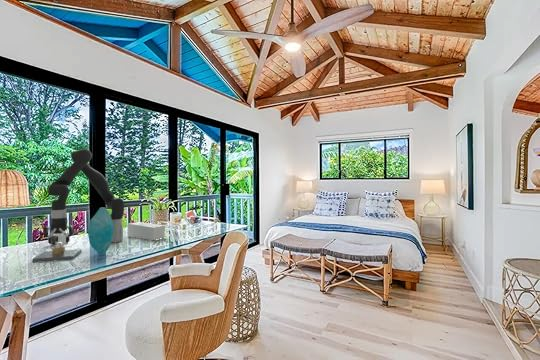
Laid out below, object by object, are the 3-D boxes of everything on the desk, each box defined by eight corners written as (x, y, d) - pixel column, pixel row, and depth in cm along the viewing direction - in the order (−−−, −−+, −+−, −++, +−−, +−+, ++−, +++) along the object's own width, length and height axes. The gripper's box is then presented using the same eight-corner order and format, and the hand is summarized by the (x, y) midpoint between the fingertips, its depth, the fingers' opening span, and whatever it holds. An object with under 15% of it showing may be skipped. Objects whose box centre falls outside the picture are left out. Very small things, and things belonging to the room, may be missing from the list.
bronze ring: (66, 252, 176) (66, 245, 176) (62, 254, 170) (62, 248, 170) (54, 252, 174) (54, 246, 174) (50, 255, 168) (50, 248, 168)
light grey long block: (127, 236, 232) (127, 223, 232) (138, 234, 241) (138, 221, 241) (153, 241, 217) (153, 227, 217) (164, 238, 226) (165, 225, 226)
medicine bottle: (50, 244, 200) (51, 228, 200) (61, 242, 207) (61, 226, 207) (57, 245, 198) (58, 229, 198) (68, 243, 205) (68, 227, 205)
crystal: (90, 252, 182) (90, 206, 182) (114, 251, 187) (114, 206, 186) (85, 258, 171) (85, 209, 170) (111, 256, 176) (111, 208, 175)
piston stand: (81, 252, 183) (81, 238, 183) (73, 259, 168) (73, 244, 168) (44, 254, 176) (44, 240, 176) (32, 262, 161) (32, 246, 161)
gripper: (74, 215, 178) (74, 241, 178) (47, 216, 173) (47, 242, 173) (70, 217, 171) (70, 243, 171) (42, 218, 166) (42, 245, 166)
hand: (58, 243), depth 172 cm, fingers open, 8 cm apart
